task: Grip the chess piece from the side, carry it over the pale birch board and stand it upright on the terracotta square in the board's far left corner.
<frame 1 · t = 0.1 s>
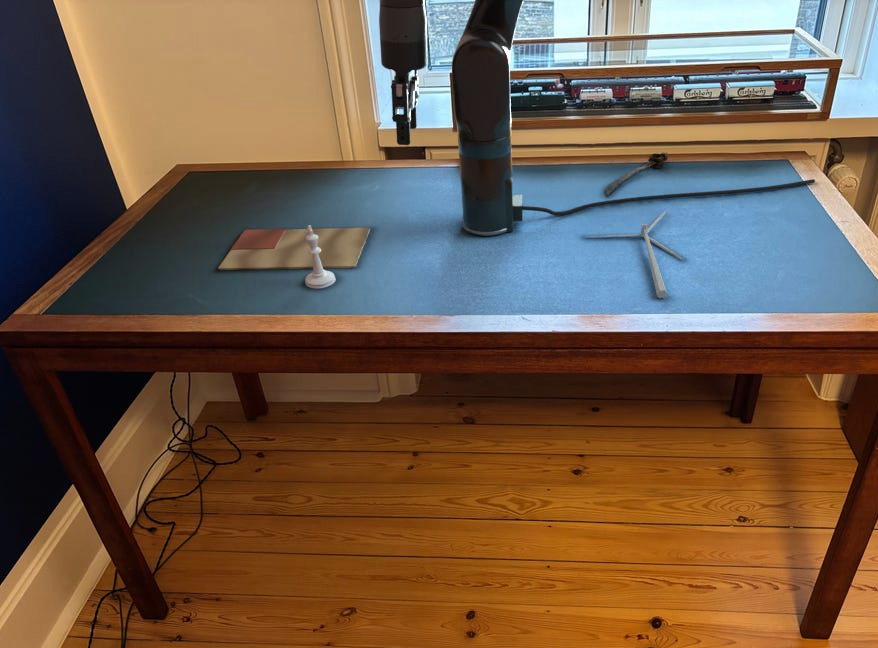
hand: (407, 136, 125), 17 cm above the table, tool pointing down, fingers open, 8 cm apart
chess piece: (320, 282, 119), on the table
wind turbine model: (632, 254, 122), on the table
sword: (637, 177, 150), on the table
corner board: (297, 249, 130), on the table
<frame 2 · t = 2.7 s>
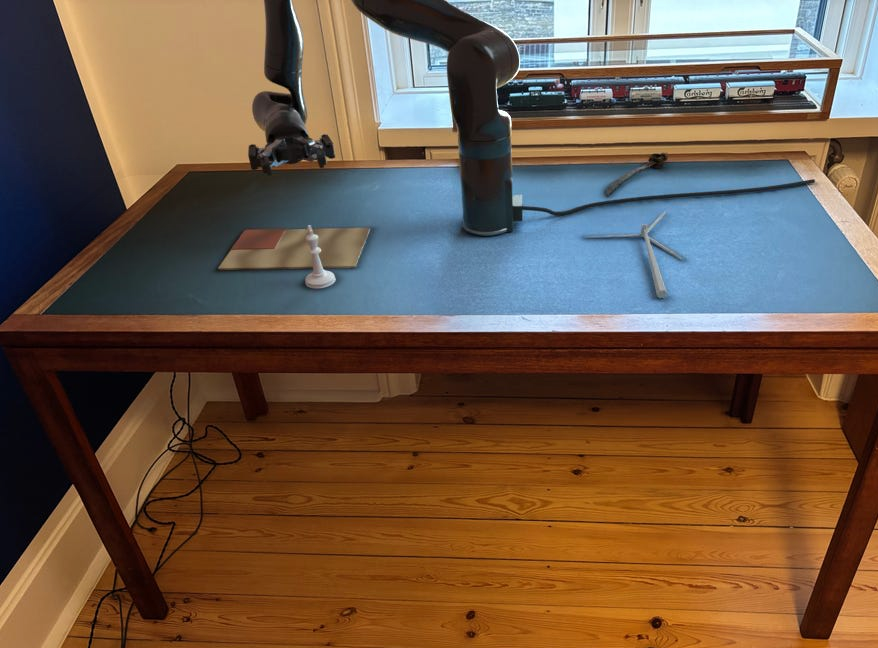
hand: (295, 166, 119), 16 cm above the table, tool horizontal, fingers open, 8 cm apart
nothing on the table moved.
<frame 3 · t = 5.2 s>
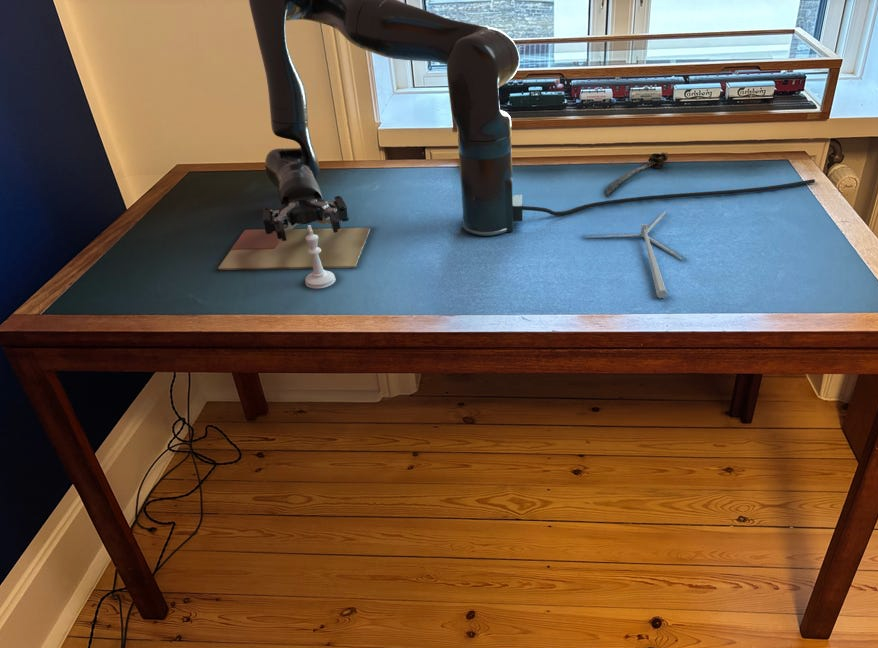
hand: (309, 231, 120), 6 cm above the table, tool horizontal, fingers open, 8 cm apart
nothing on the table moved.
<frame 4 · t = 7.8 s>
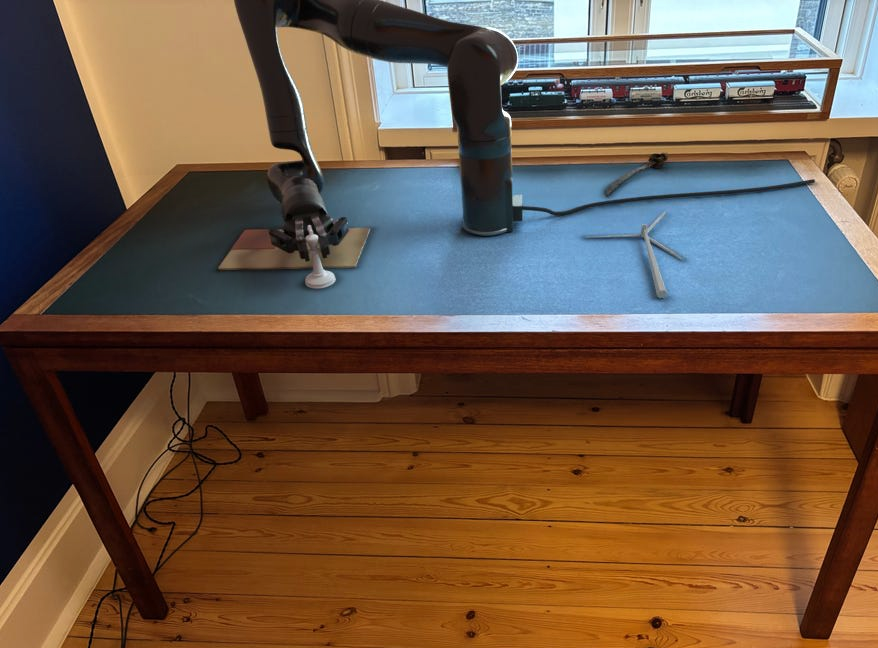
hand: (315, 254, 113), 6 cm above the table, tool horizontal, fingers closed on chess piece
chess piece: (320, 282, 119), on the table, touching gripper
everything else where it was.
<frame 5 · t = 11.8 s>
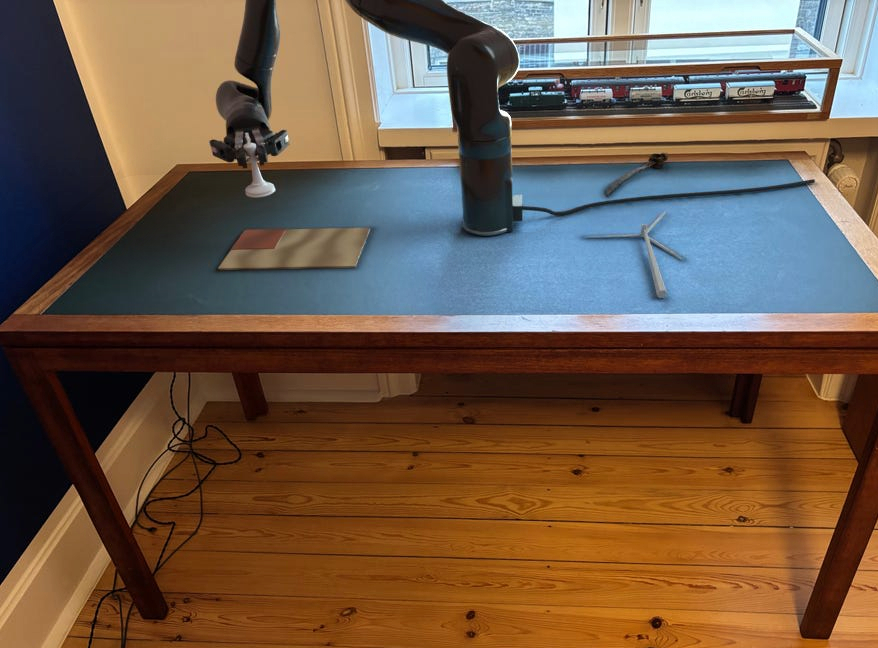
hand: (252, 161, 116), 18 cm above the table, tool horizontal, fingers closed on chess piece
chess piece: (260, 192, 123), point 11 cm above the table, touching gripper
everything else where it was.
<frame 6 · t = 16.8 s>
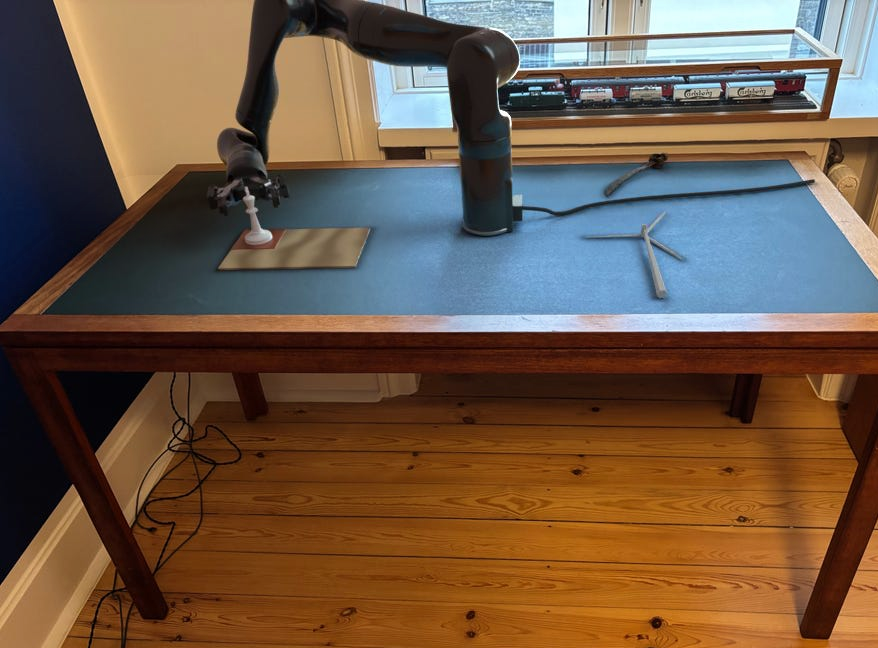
hand: (250, 206, 127), 8 cm above the table, tool horizontal, fingers open, 8 cm apart
chess piece: (259, 240, 133), resting on corner board
everything else where it was.
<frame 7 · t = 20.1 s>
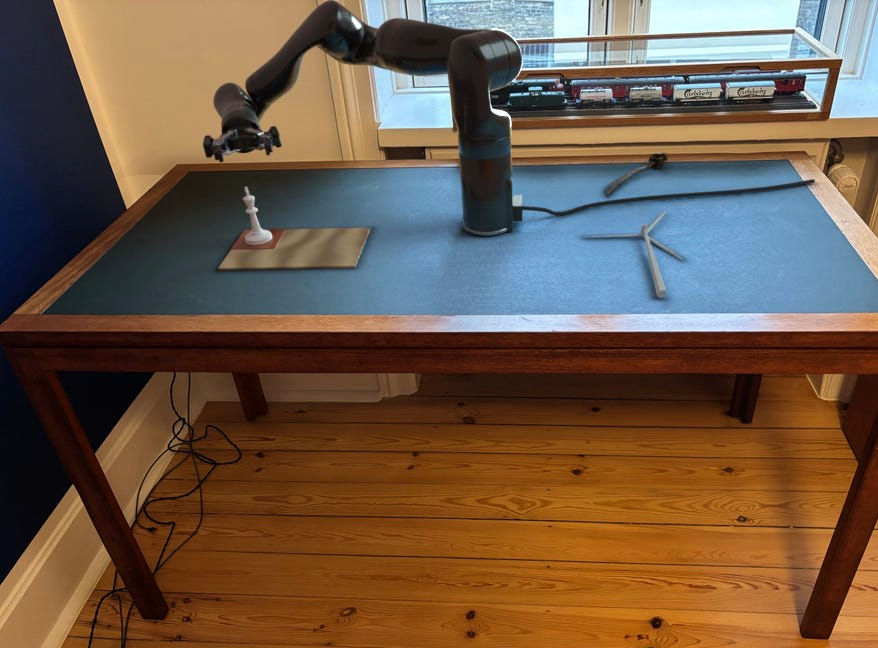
hand: (243, 153, 134), 13 cm above the table, tool horizontal, fingers open, 8 cm apart
nothing on the table moved.
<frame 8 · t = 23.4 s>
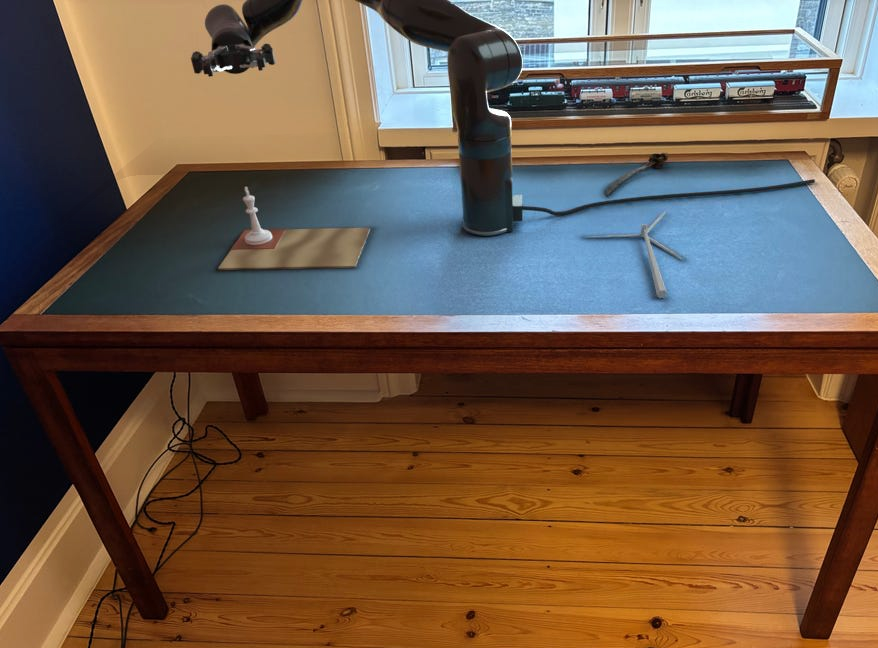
hand: (234, 67, 125), 28 cm above the table, tool horizontal, fingers open, 8 cm apart
nothing on the table moved.
at the end: chess piece inside the target area (0.2 cm from its centre), resting on corner board; chess piece tilted 0°; the gripper is holding nothing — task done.
